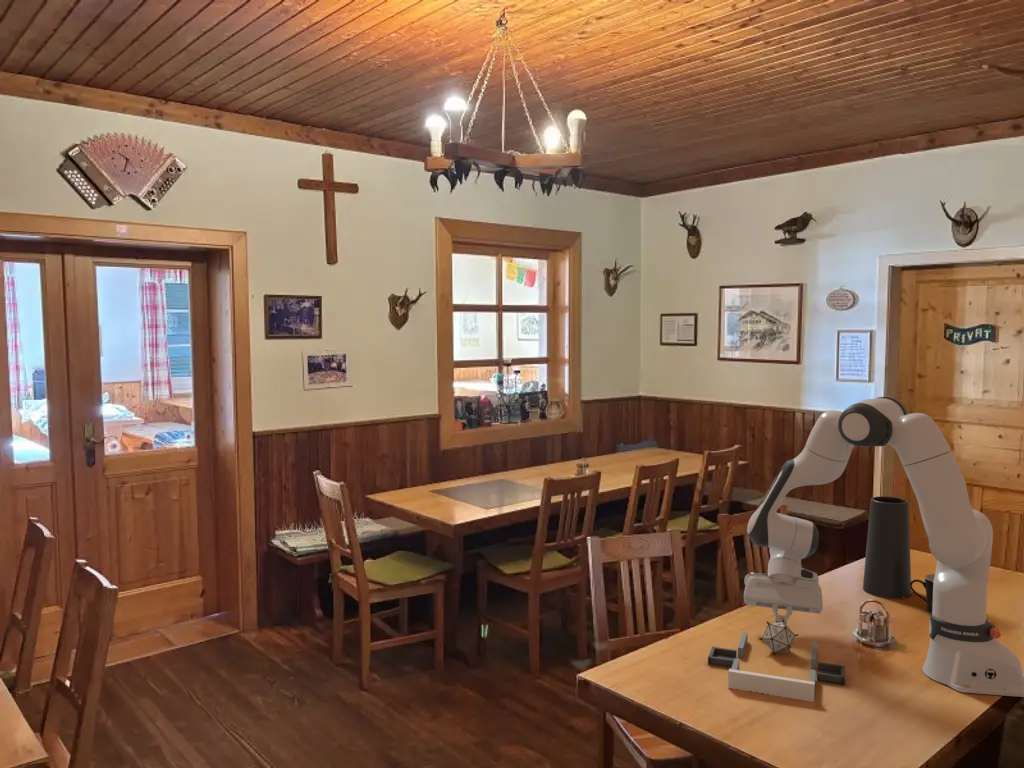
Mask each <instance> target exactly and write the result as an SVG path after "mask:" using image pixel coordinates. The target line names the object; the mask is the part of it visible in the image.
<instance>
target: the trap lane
mask: <svg viewBox="0 0 1024 768" xmlns="http://www.w3.org/2000/svg"><path fill="white" fill-rule="evenodd" d="M747 644H748V632H747V631H742V634H741V637H740V640H739V642H738V646H737V650H736V649H733V648H732V649H731V648H727V647H726V648H725V647H719V646H711V649H710V651H709V653H708V657H707V665H711V666H718V667H723V668H728V681H727V682H728V683H727V687H728V689H730V688H732V690H736V689H740V690H739V691H743V690H746V691H745V692H749V691H752V692H751V693H755V692H758V693H757V694H761V693H764V695H767V694H769V695H768V696H774V697H779V696H780V697H781V698H785V699H786V698H787V699H793V700H797V701H798V700H799V701H805V702H810V703H811V702H812V703H815V692H816V689H815V688H816V682H820V681H821V683H826V682H827V683H828V684H833V683H834V685H839V684H840V686H845V684H846V683H845V682H846V680H845V679H846V678H845V677H846V674H845V673H846V669H845V667H846V666H845V665H844V664H843V665H842V664H835V663H827V662H821V661H818V644H819V643H818V641H812V645H811V646H812V647H811V655H810V656H811V657H810V669H809V679H808V680H805V679H804V680H803V679H797V678H792V677H784V676H777V675H772V674H766V673H759V672H758V673H757V672H753V671H746V670H740V664H741V663H740V658H739V657H742V658H741V659H743V658H744V655H745V651H746V648H747ZM817 661H818V662H817ZM816 665H817V666H816ZM729 667H730V668H729ZM814 668H816V669H817V670H816V669H814Z"/></svg>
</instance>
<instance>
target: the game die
mask: <svg viewBox="0 0 1024 768" xmlns="http://www.w3.org/2000/svg"><path fill="white" fill-rule="evenodd" d="M766 624H767V626H766V629H765V631H764V633H763V635H762V637H759V638H758V640H759V641H763V643H764V644H765V645H767V647H768V648H769V649H770V650H771V652H773V653H772V656H773V657H774V656H775V655H776V654H777V653H782V652H783V653H784V652H788V653H789V654H791V653H792V651H791V650H790V649H791V648H792V645H793V642H794V640H795V639H796V637H798V636H799V634H797V633H796V634H795V633H794V632H793V631H792V630H791V629H790V627H789V626H788V624H787V625H786V624H785V623H784V619H782V622H777V623H776V622H771V623H770V622H769V621H767V620H766Z"/></svg>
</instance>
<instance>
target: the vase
mask: <svg viewBox="0 0 1024 768" xmlns="http://www.w3.org/2000/svg"><path fill="white" fill-rule="evenodd" d="M909 505H910V504H909V501H908V499H907V500H906V499H905V498H903V497H902V498H901V497H895V496H887V495H886V496H882V495H881V496H873V497H871V498H870V504H869V513H868V514H869V515H868V525H867V527H868V528H867V538H866V547H865V550H866V551H865V559H864V560H865V561H864V569H863V570H864V571H863V582H862V590H863V591H864V592H865V593H867V594H869V595H871V596H875V597H878V598H883V597H885V598H884V599H891V598H902V599H904V598H903V597H908V596H910V595H911V596H912V590H911V588H910V583H911V581H912V574H911V573H912V569H911V538H910V537H911V535H910V532H911V531H910V507H909ZM911 596H910V597H911ZM886 597H887V598H886ZM908 598H909V597H908Z"/></svg>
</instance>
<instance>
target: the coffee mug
mask: <svg viewBox="0 0 1024 768" xmlns="http://www.w3.org/2000/svg"><path fill="white" fill-rule="evenodd" d="M934 576H935V573H934V574H933V573H932V574H926V575H924V581H922V580H920V579H913V580H911V583H910V588H911V592H913V593H914V594H915V595H916V596H917V597H919V598H920V599H921V600H923V601H924V602H925V603H926V605H927V612H928V611H929V612H930V613H931V612H932V605H933V581H934ZM916 582H918V583H920V584H922V586H923V587H924V589H925V594H926V595H925V596H926V597H923V596H922V595H921V594H920V593H918V592H916V590H915V589H914V588H913V586H912V585H913V584H914V583H916ZM929 612H928V613H929ZM930 613H929V614H930Z"/></svg>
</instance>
